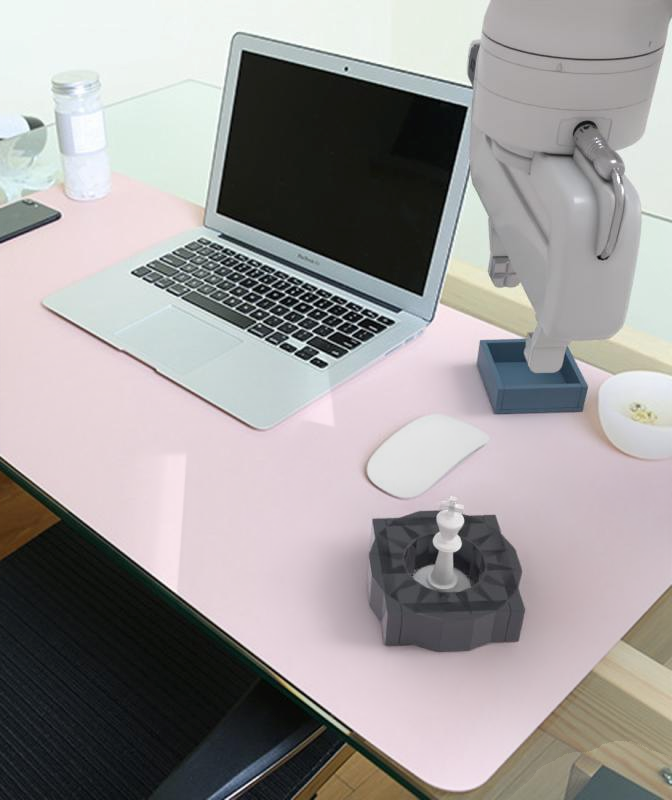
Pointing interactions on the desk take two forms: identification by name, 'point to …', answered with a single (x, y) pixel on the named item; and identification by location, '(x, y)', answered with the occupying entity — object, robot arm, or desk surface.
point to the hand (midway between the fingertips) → (520, 321)
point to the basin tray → (528, 380)
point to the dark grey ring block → (435, 610)
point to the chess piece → (445, 552)
